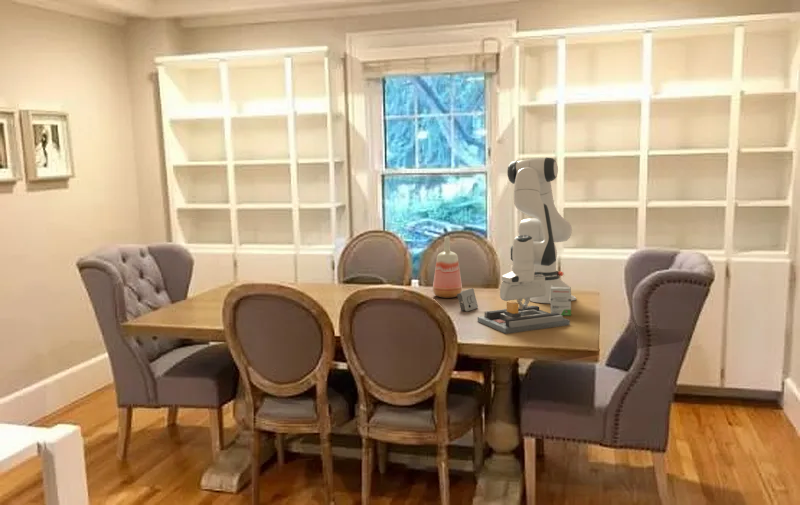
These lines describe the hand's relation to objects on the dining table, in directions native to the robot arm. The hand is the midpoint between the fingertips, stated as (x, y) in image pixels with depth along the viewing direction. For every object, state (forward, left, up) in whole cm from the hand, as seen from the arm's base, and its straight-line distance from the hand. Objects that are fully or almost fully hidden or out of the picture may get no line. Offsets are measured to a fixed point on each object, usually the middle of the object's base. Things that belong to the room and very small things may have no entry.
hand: (523, 308), depth 272 cm
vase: (+3, -63, -6) cm, 63 cm away
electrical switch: (+8, -33, -6) cm, 34 cm away
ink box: (-23, -6, -6) cm, 24 cm away
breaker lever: (+5, 0, -4) cm, 6 cm away
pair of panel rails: (0, 0, -4) cm, 4 cm away
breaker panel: (0, 0, -6) cm, 6 cm away
